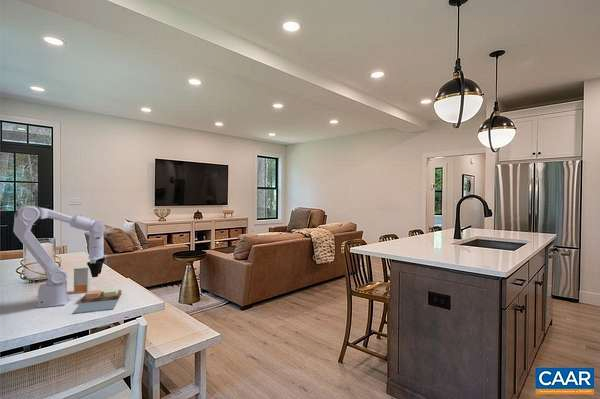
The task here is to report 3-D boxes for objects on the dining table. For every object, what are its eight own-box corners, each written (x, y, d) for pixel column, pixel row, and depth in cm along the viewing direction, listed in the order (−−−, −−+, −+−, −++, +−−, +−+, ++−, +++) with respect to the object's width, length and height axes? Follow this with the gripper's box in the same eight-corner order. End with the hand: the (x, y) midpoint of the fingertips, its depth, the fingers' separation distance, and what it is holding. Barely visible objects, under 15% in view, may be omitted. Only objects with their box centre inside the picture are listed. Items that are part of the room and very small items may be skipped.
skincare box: (73, 293, 148) (73, 268, 148) (77, 290, 152) (77, 266, 152) (87, 292, 150) (87, 267, 149) (91, 289, 154) (91, 265, 154)
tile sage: (103, 296, 139) (103, 292, 139) (105, 292, 144) (105, 289, 144) (116, 294, 141) (116, 291, 141) (118, 291, 146) (118, 288, 146)
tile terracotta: (84, 297, 137) (84, 294, 137) (87, 294, 141) (87, 291, 141) (98, 296, 138) (98, 293, 138) (100, 293, 143) (100, 289, 143)
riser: (81, 303, 135) (81, 299, 135) (86, 297, 143) (86, 292, 143) (118, 300, 140) (118, 295, 140) (121, 293, 148) (121, 289, 148)
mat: (72, 314, 124) (72, 313, 124) (81, 304, 135) (81, 303, 135) (113, 309, 129) (113, 308, 129) (118, 300, 140) (118, 299, 140)
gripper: (103, 248, 140) (103, 278, 140) (109, 243, 154) (109, 271, 154) (84, 249, 137) (84, 280, 138) (92, 244, 151) (92, 272, 151)
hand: (96, 275), depth 146 cm, fingers open, 5 cm apart
